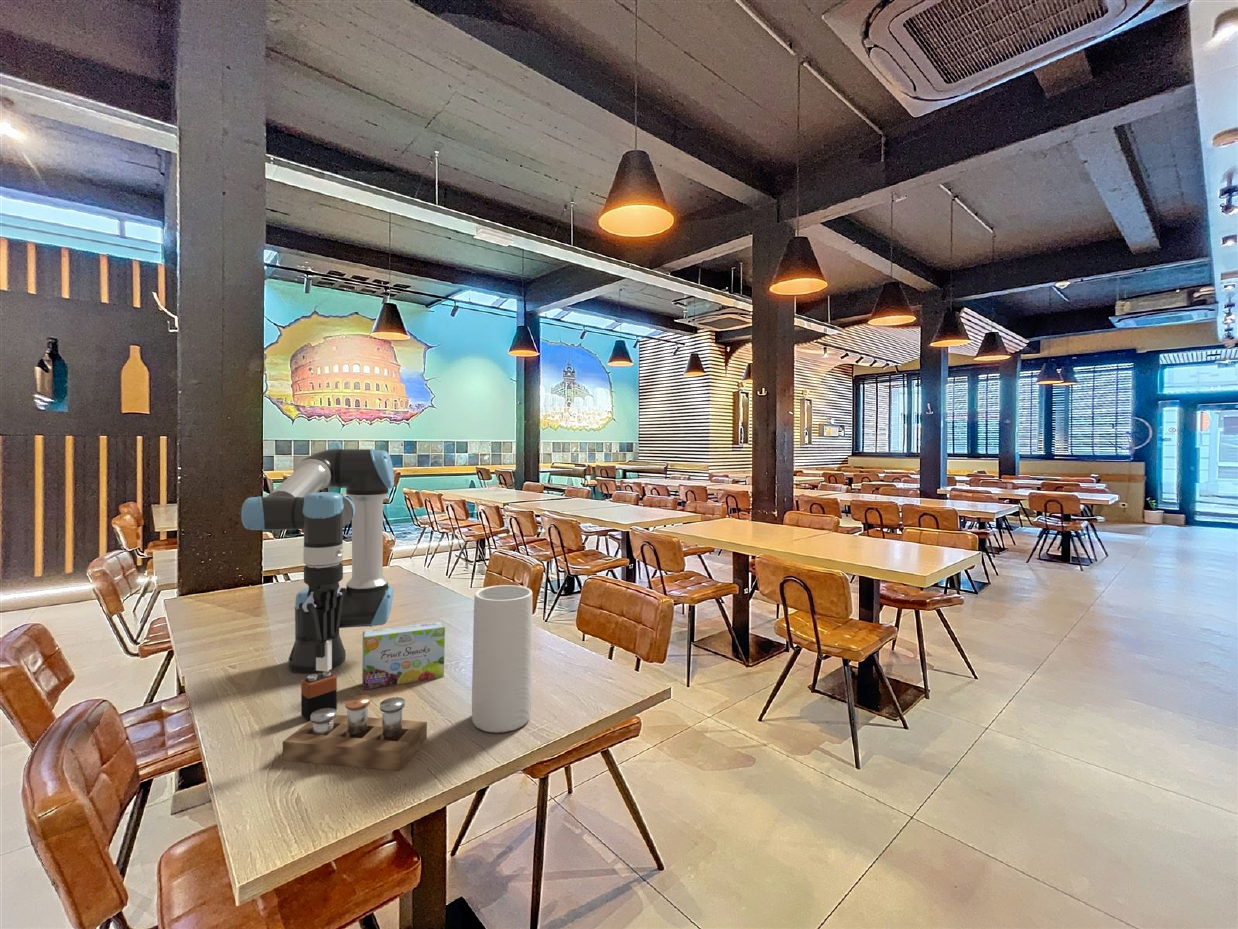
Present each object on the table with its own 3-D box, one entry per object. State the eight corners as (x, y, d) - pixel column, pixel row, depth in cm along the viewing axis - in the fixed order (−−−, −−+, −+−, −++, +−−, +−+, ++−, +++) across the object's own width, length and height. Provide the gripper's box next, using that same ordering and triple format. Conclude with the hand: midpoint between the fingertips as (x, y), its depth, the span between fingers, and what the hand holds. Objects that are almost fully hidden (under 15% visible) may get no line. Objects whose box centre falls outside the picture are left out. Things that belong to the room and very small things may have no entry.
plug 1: (305, 747, 118) (305, 718, 117) (320, 735, 123) (320, 707, 122) (326, 749, 117) (326, 720, 117) (340, 737, 122) (341, 708, 122)
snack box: (363, 691, 146) (363, 636, 146) (362, 683, 151) (362, 630, 151) (444, 677, 156) (445, 626, 155) (441, 670, 161) (441, 620, 160)
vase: (476, 740, 124) (478, 603, 123) (467, 711, 137) (469, 587, 136) (537, 728, 130) (540, 597, 128) (523, 701, 143) (525, 582, 141)
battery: (300, 716, 133) (300, 676, 132) (329, 706, 138) (329, 667, 137) (308, 722, 130) (308, 681, 129) (337, 711, 135) (337, 672, 135)
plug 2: (375, 737, 116) (375, 707, 116) (387, 725, 121) (387, 696, 121) (397, 739, 115) (397, 709, 115) (408, 727, 120) (409, 698, 120)
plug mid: (339, 734, 117) (339, 704, 116) (353, 722, 122) (353, 694, 121) (361, 736, 116) (361, 706, 116) (374, 724, 121) (374, 695, 121)
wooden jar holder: (282, 760, 114) (282, 741, 114) (319, 730, 126) (319, 713, 126) (400, 770, 112) (400, 751, 112) (426, 739, 124) (426, 722, 124)
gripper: (320, 572, 111) (320, 684, 113) (357, 558, 124) (357, 658, 126) (286, 570, 112) (287, 681, 114) (326, 556, 125) (326, 656, 126)
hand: (323, 669), depth 120 cm, fingers closed
